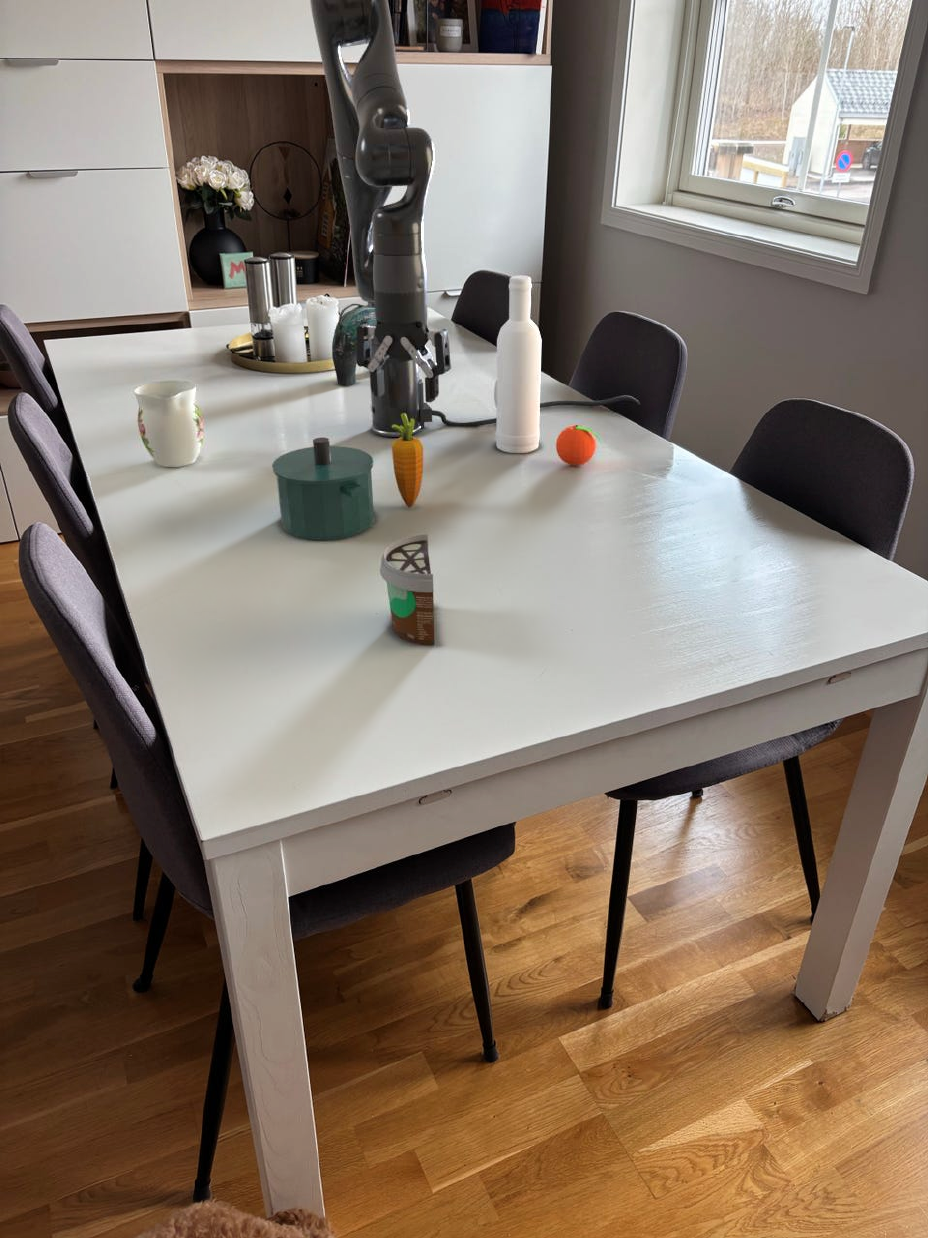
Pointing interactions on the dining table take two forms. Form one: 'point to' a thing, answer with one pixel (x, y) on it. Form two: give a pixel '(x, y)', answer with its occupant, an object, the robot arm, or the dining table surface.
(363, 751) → the dining table surface
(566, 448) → the clementine
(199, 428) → the pitcher
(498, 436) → the bottle
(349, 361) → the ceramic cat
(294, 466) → the pot lid
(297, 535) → the pot
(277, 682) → the dining table surface
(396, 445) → the carrot
